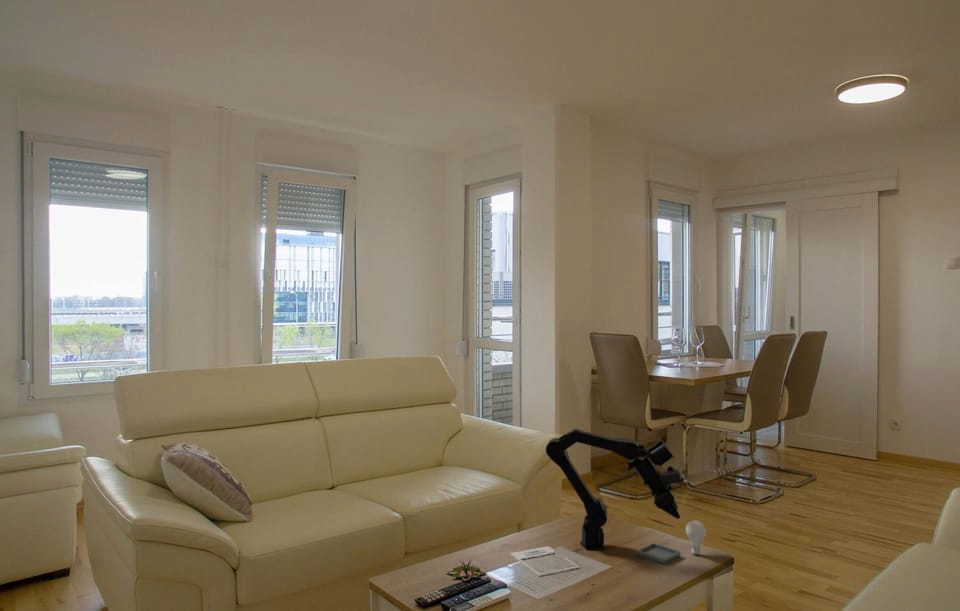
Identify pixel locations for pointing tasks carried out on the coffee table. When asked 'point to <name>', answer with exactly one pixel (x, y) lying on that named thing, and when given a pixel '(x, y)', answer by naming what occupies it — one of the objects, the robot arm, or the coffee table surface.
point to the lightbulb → (695, 535)
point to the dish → (658, 553)
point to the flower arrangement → (463, 568)
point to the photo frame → (534, 553)
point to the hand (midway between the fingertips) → (678, 513)
